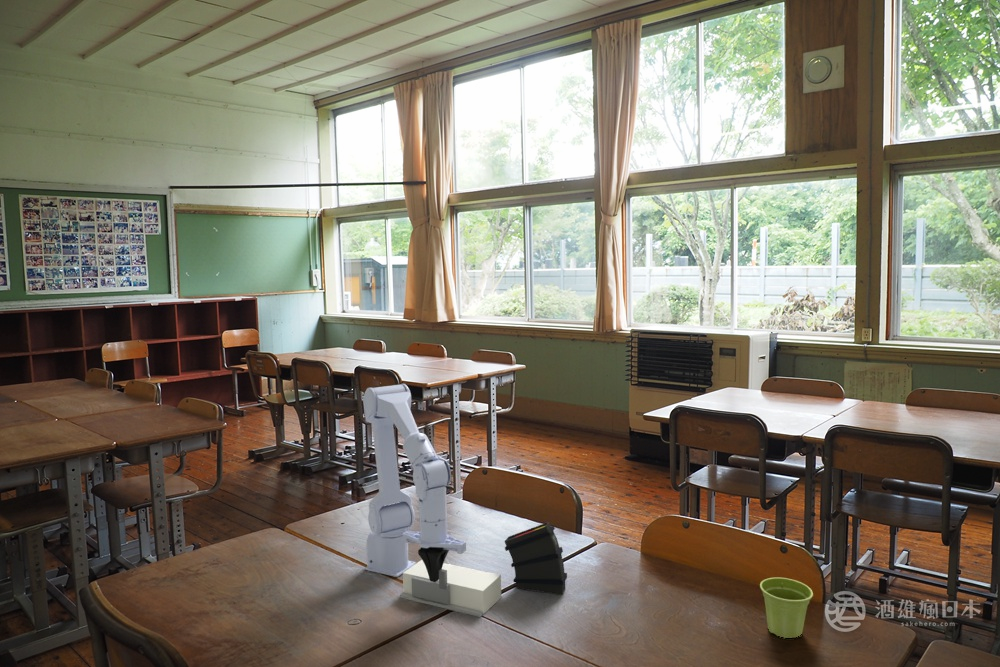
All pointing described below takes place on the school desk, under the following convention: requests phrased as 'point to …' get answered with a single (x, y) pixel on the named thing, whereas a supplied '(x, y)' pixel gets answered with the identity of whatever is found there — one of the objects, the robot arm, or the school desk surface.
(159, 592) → the school desk surface
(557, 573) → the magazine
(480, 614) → the camera housing
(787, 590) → the plant pot
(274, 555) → the school desk surface
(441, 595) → the side door
